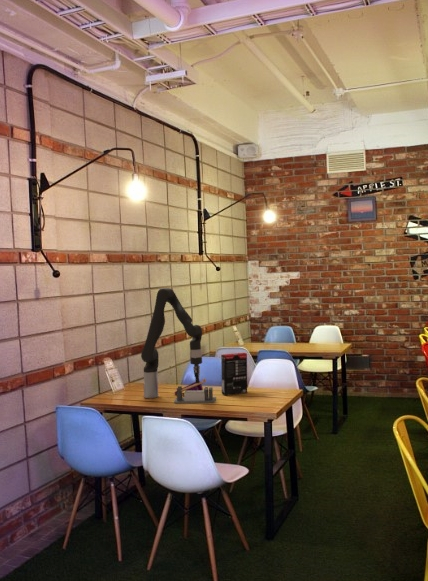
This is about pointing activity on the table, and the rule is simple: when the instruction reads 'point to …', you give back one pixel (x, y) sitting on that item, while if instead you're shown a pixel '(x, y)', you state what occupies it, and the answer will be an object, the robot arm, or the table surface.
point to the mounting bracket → (193, 388)
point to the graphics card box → (234, 373)
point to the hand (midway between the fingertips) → (197, 383)
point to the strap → (194, 385)
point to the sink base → (195, 396)
